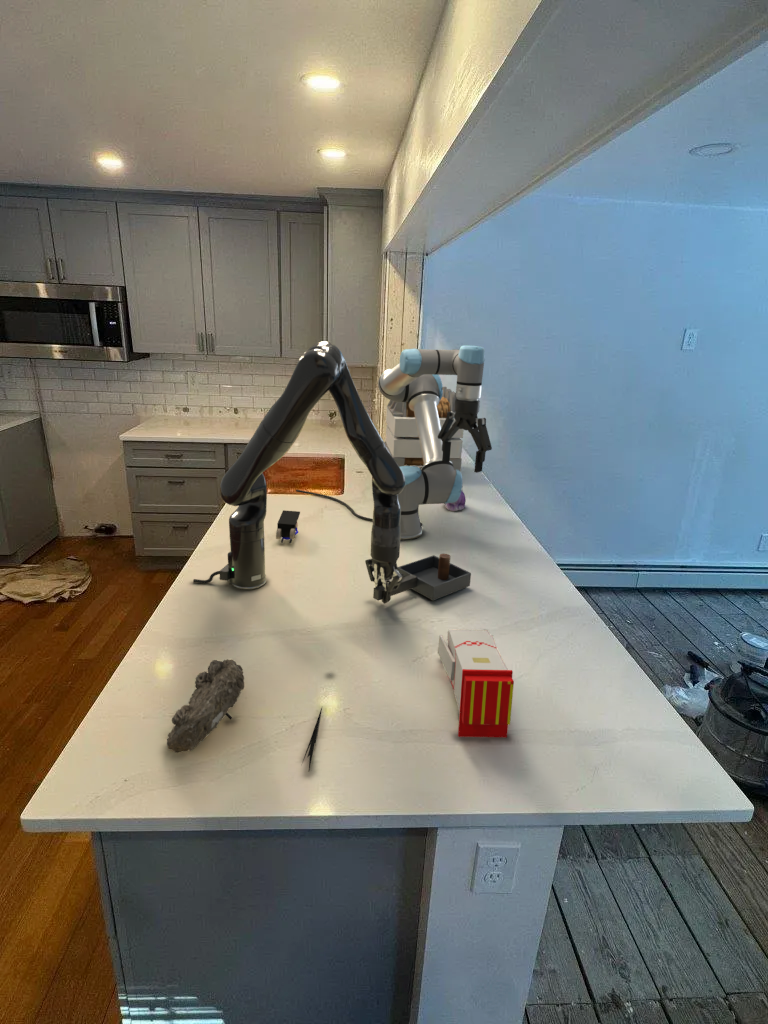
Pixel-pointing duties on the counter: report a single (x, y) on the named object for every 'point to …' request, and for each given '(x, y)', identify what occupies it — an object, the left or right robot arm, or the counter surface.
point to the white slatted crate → (405, 434)
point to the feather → (313, 740)
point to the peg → (444, 566)
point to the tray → (428, 579)
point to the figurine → (457, 503)
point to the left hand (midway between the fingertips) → (382, 599)
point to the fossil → (206, 705)
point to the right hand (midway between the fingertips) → (461, 466)
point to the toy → (478, 682)
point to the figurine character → (287, 525)
